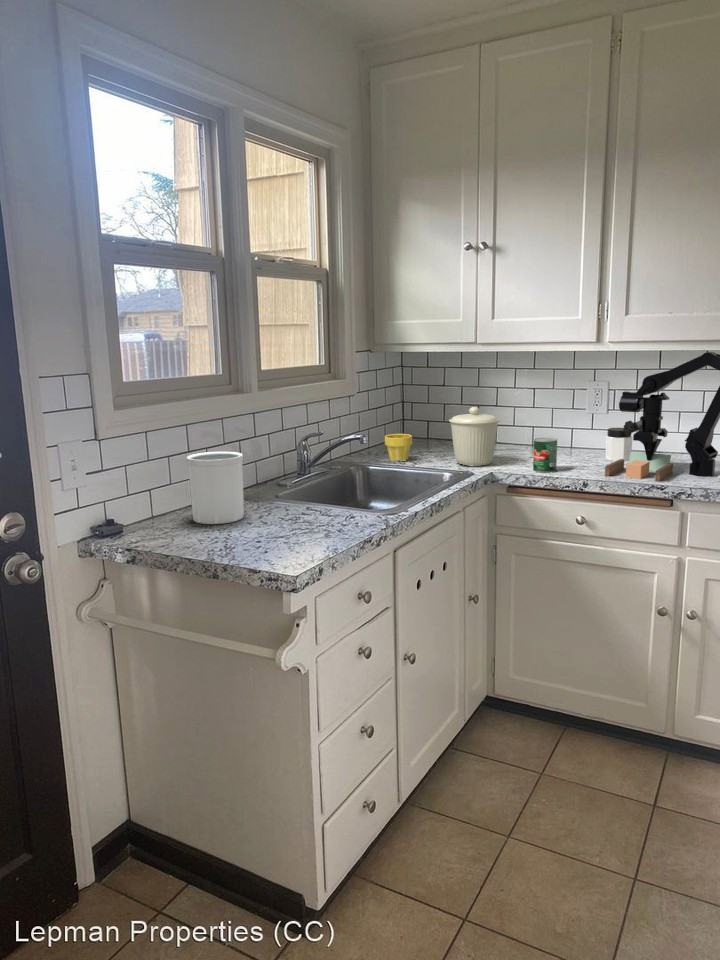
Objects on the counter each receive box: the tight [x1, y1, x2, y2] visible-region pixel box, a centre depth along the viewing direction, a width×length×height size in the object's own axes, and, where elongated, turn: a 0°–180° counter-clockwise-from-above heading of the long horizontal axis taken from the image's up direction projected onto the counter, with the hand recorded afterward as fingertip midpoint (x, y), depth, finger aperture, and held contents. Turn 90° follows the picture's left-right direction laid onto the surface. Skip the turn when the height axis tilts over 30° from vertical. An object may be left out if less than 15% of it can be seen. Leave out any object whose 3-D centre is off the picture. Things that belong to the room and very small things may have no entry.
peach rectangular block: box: [625, 461, 650, 480], centre depth 233 cm, size 5×9×4 cm, turn 143°
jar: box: [604, 427, 633, 462], centre depth 262 cm, size 9×8×12 cm
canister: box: [448, 406, 500, 467], centre depth 264 cm, size 18×18×21 cm
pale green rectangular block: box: [627, 451, 672, 473], centre depth 242 cm, size 13×1×6 cm
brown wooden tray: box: [604, 459, 674, 483], centre depth 234 cm, size 18×15×4 cm
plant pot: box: [384, 433, 413, 461], centre depth 276 cm, size 10×10×10 cm
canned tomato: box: [532, 437, 558, 474], centre depth 250 cm, size 8×8×11 cm
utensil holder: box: [186, 451, 245, 525], centre depth 197 cm, size 15×15×18 cm
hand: (648, 460), depth 241 cm, fingers closed, pressing on pale green rectangular block
